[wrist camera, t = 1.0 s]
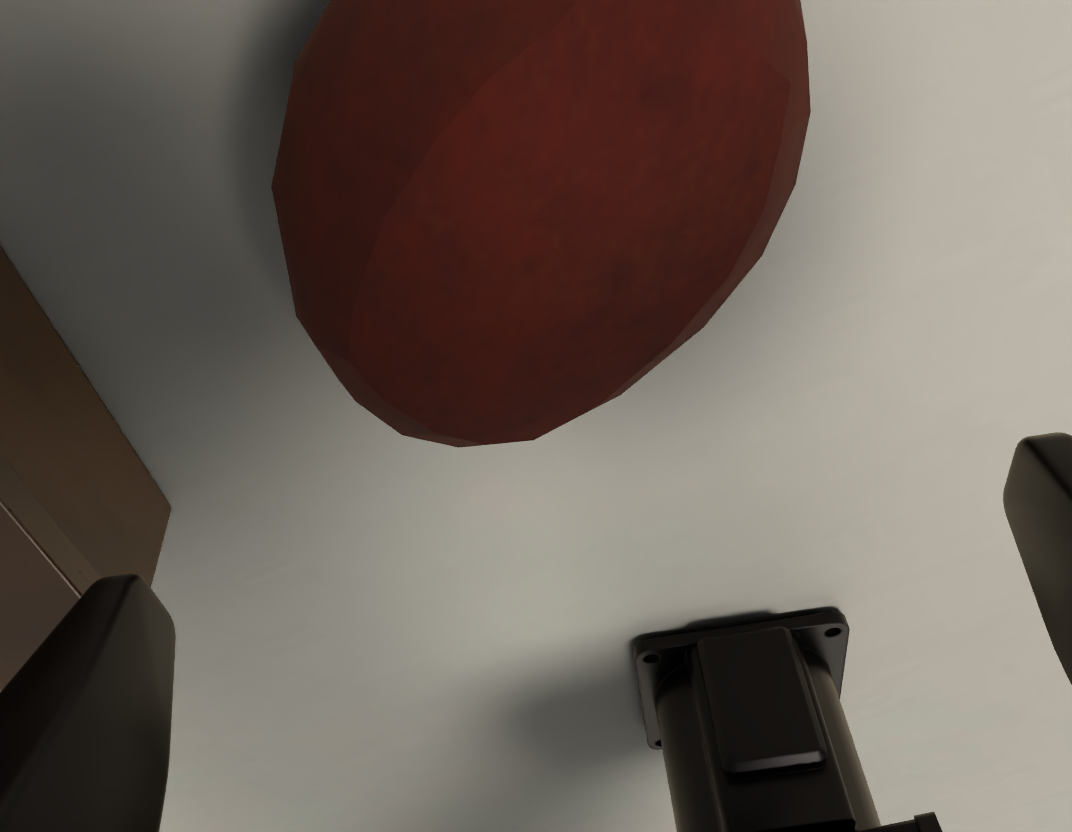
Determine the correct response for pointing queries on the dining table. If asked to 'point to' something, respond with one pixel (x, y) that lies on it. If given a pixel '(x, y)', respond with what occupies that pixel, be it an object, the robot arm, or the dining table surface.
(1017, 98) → the dining table surface
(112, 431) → the walnut box
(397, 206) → the potato
